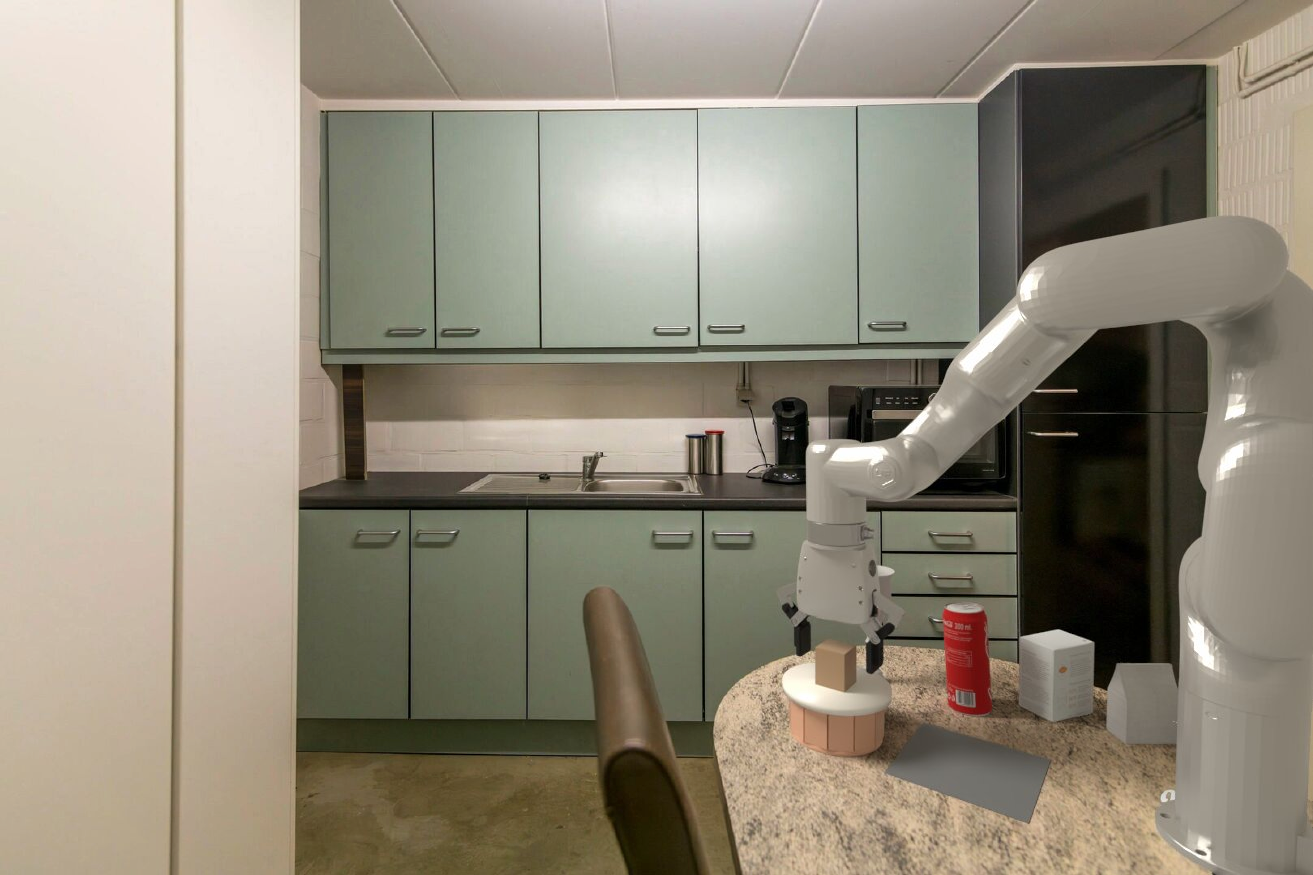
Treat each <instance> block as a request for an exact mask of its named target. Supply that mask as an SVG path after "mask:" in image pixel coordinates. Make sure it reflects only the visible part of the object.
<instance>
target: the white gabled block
mask: <svg viewBox="0 0 1313 875" xmlns="http://www.w3.org/2000/svg"><path fill="white" fill-rule="evenodd" d="M1106 695H1107V696H1106V697H1107V698H1106V700H1107V701H1106V730H1107V731H1108V732H1109V733H1111V734H1112V735H1113V736H1115V737H1116V738H1118V740H1120V741H1122V742H1123V743H1124V744H1125V745H1177V723H1176V722H1177V718H1178V685H1177V683H1176V678H1175V674H1174V670H1173V664H1171V663H1169V662H1166V663H1163V662H1162V663H1161V662H1160V663H1159V662H1157V663H1156V662H1155V663H1152V662H1151V663H1150V662H1147V663H1142V662H1141V663H1139V662H1137V663H1136V662H1135V663H1133V662H1132V663H1131V662H1130V663H1129V662H1127V663H1126V662H1125V663H1123V662H1120V663H1118V662H1117V663H1116V665H1115V669H1114V672H1113V675H1112V677H1111V680H1110V683H1109V684H1108V686H1107V694H1106ZM1173 721H1175V722H1173Z"/></svg>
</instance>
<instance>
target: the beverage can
mask: <svg viewBox="0 0 1313 875" xmlns="http://www.w3.org/2000/svg"><path fill="white" fill-rule="evenodd" d="M942 626H943V642H944V643H943V645H944V657H945V658H944V659H945V677H946V694H947V704H948V707H949V708H950V709H951V710H952V711H954V712H956V713H958V714H961V715H964V716H970V717H986V716H988V715H990V714H991V712H992V711H993V698H992V695H993V693H992V680H991V679H992V678H991V663H990V662H991V660H990V646H989V644H990V643H989V628H988V627H989V626H988V616H987V614H986V613H985V608H984V606H982V605H980V604H978V603H973V602H966V601H954V602H953V601H952V602H949V603H946V604H945V605H944V610H943V613H942Z"/></svg>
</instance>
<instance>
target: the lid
mask: <svg viewBox="0 0 1313 875" xmlns="http://www.w3.org/2000/svg"><path fill="white" fill-rule="evenodd" d="M857 646H858V644H854V643H849V642H845V641H841V640H836V639H831V638H827V639H825V640H824V641H823V642H821V643H819V644H818V645H817V646H815V648H814V652H815V653H814V654H815V656H814V658H815V660H814V661H813V662H806V663H801V664H798V665H795V666H792V667H791V668H789V669H787V670H786V671H785V672H784V673H783V675H782V678H781V679H782V680H781V681H782V682H781V684H782V686H781V688H782V691H783V694H784V695H785V696H786V697H787V698H788V700H789V699H790V700H792V701H793V702H795V703H796V704H798V705H800V706H802V707H805V708H807V709H810V710H813V711H816V712H820V713H825V714H830V715H838V716H861V715H868V714H873V713H877V712H879V711H882V710H883V709H884V710H885V709H886V708H888V707H889V706H890V704H891V703H892V701H893V687H892V684H890V682H889V681H888V680H887V679H886V678H885V677H884V678H883V677H882V676H880V675H879V674H877V673H875V672H874V673H873V674H868V673H867V672H866V669H865V668H862V666H857V656H858V655H857V650H858V648H857Z"/></svg>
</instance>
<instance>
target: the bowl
mask: <svg viewBox="0 0 1313 875" xmlns="http://www.w3.org/2000/svg"><path fill="white" fill-rule="evenodd" d="M788 727H789V728H788V729H789V733H790V735H791V736H792V738H793V739H794V740H795V741H796V742H797V743H799V744H800V745H802V746H804V747H805V748H807V749H809V750H811V751H814V752H816V753H817V752H818V753H821V754H823V755H828V756H835V757H847V758H848V757H849V758H850V757H860V756H864V755H868V754H871V753H873V752H876V750H878V749H879V748H880V747H881V746H882V743H883V741H884V740H883V739H884V737H885V709H883V710H882V711H879V712H877V713H873V714H868V715H861V716H838V715H830V714H825V713H820V712H816V711H813V710H810V709H807V708H805V707H802V706H800V705H798V704H796V703H795V702H793V701H792V700H790V699H789V698H788Z"/></svg>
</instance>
